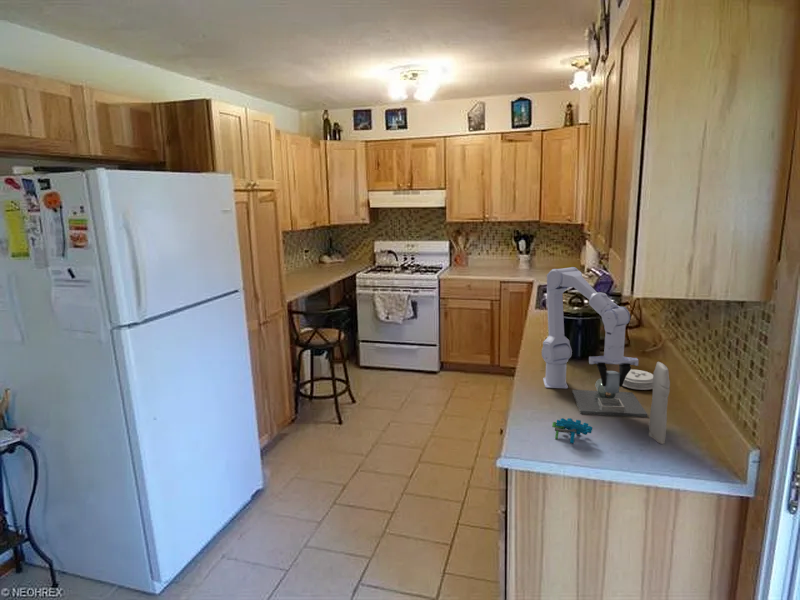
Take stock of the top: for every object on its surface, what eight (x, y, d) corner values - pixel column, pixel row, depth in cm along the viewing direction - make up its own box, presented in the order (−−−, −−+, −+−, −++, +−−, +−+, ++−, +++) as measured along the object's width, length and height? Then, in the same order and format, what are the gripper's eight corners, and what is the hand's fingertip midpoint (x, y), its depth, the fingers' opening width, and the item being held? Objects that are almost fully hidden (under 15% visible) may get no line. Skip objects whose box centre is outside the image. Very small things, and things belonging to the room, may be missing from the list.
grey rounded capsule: (602, 387, 164) (603, 370, 163) (616, 388, 164) (617, 370, 162) (606, 393, 160) (607, 375, 159) (620, 393, 159) (622, 375, 158)
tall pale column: (670, 445, 139) (677, 370, 135) (655, 444, 140) (661, 370, 135) (658, 428, 149) (664, 358, 145) (643, 427, 150) (648, 357, 146)
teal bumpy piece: (596, 431, 145) (587, 417, 138) (594, 451, 142) (585, 438, 135) (558, 427, 151) (548, 414, 145) (555, 446, 148) (545, 433, 142)
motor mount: (572, 392, 178) (572, 376, 177) (632, 395, 174) (633, 378, 173) (580, 413, 161) (581, 396, 159) (647, 417, 157) (648, 399, 156)
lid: (621, 377, 192) (622, 364, 191) (658, 383, 185) (659, 370, 184) (614, 387, 182) (615, 374, 181) (652, 394, 175) (654, 381, 174)
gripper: (592, 348, 156) (590, 388, 159) (642, 349, 153) (639, 391, 156) (588, 341, 163) (586, 381, 166) (636, 342, 160) (633, 382, 163)
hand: (611, 385), depth 161 cm, fingers closed on grey rounded capsule, 4 cm apart
